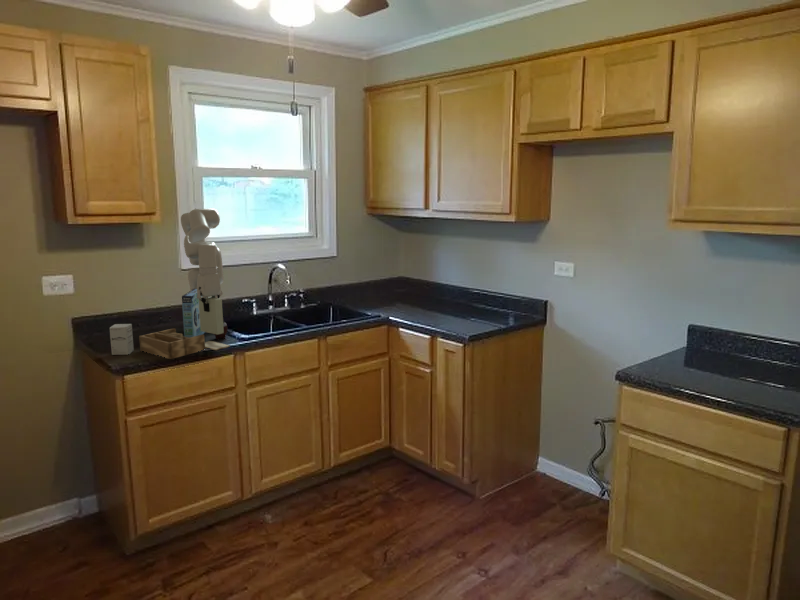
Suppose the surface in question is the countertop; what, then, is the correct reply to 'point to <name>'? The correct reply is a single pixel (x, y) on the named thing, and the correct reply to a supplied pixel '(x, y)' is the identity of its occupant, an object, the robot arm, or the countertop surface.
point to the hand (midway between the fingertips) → (210, 310)
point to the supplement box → (121, 339)
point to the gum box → (191, 314)
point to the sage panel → (212, 316)
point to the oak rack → (170, 344)
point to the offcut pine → (176, 335)
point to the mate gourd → (222, 336)
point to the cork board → (215, 345)
